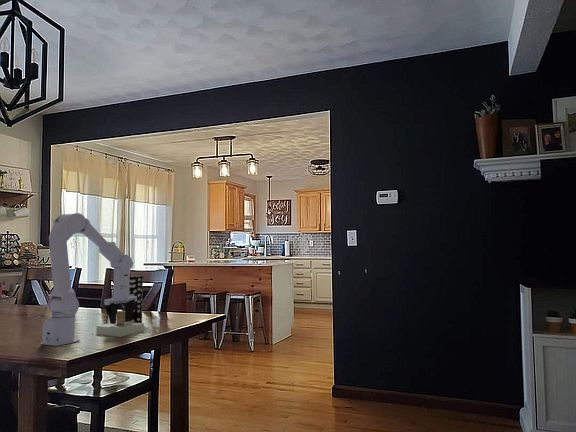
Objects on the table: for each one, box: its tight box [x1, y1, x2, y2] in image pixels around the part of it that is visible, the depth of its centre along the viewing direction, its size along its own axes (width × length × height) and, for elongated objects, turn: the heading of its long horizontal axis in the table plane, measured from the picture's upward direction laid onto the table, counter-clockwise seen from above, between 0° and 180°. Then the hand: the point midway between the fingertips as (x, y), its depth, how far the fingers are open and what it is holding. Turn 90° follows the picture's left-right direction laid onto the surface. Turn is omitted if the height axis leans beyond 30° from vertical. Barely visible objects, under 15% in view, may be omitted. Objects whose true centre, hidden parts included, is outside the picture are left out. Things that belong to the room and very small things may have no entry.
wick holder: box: [95, 321, 145, 338], centre depth 176 cm, size 12×12×3 cm
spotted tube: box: [121, 275, 144, 323], centre depth 198 cm, size 8×8×20 cm
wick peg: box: [116, 310, 125, 326], centre depth 176 cm, size 3×3×8 cm
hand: (120, 322), depth 176 cm, fingers open, 7 cm apart
